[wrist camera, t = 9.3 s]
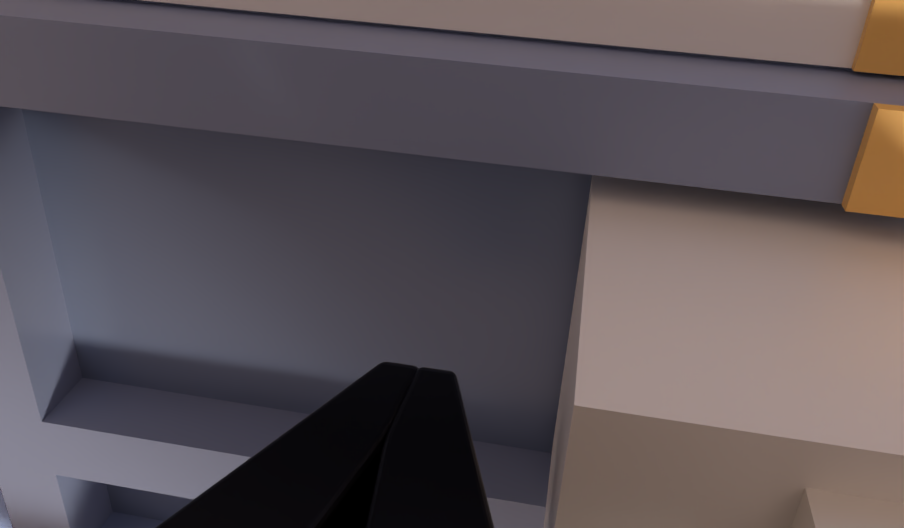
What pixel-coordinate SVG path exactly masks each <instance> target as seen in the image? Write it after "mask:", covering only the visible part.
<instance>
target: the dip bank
mask: <svg viewBox="0 0 904 528" xmlns="http://www.w3.org/2000/svg"><path fill="white" fill-rule="evenodd" d="M592 175H596V176H605V177H614V178H622V179H631V180H639V181H648V182H657V183H665V184H674V185H682V186H691V187H700V188H708V189H717V190H725V191H734V192H743V193H751V194H760V195H768V196H777V197H786V198H794V199H803V200H812V201H820V202H829V203H837V204H842V206H843V208H844V210H845V211H847V212H855V213H864V214H873V215H881V216H890V217H898V218H904V0H0V489H1V492H2V495H3V498H4V501H5V504H6V508H7V511H8V514H9V517H10V520H11V523H12V526H13V528H155V527H157V526H158V525H159V524H161V523H162V522H163V521H165V520H166V519H167V518H169V517H170V516H172V515H173V514H174V513H176V512H177V511H178V510H180V509H181V508H183V507H184V506H185V505H187V504H188V503H189V502H191V501H192V500H193V499H195V498H196V497H198V496H199V495H200V494H202V493H203V492H204V491H206V490H207V489H208V488H210V487H211V486H213V485H214V484H215V483H217V482H218V481H219V480H221V479H222V478H224V477H225V476H226V475H228V474H229V473H230V472H232V471H233V470H234V469H236V468H237V467H239V466H240V465H241V464H243V463H244V462H245V461H247V460H248V459H249V458H251V457H252V456H254V455H255V454H256V453H258V452H259V451H260V450H262V449H263V448H265V447H266V446H267V445H269V444H270V443H271V442H273V441H274V440H275V439H277V438H278V437H280V436H281V435H282V434H284V433H285V432H286V431H288V430H289V429H290V428H292V427H293V426H295V425H296V424H297V423H299V422H300V421H301V420H303V419H304V418H306V417H307V416H308V415H310V414H311V413H312V412H314V411H315V410H316V409H318V408H319V407H321V406H322V405H323V404H325V403H326V402H327V401H329V400H330V399H332V398H333V397H334V396H336V395H337V394H338V393H340V392H341V391H342V390H344V389H345V388H347V387H348V386H349V385H351V384H352V383H353V382H355V381H356V380H357V379H359V378H360V377H362V376H363V375H364V374H366V373H367V372H368V371H370V370H371V369H373V368H374V367H375V366H377V365H378V364H380V363H382V362H394V363H401V364H407V365H414V366H417V367H418V368H421V367H428V368H434V369H441V370H448V371H452V372H454V373H455V374H456V376H457V379H458V383H459V387H460V391H461V395H462V400H463V404H464V408H465V412H466V416H467V420H468V424H469V428H470V432H471V436H472V440H473V444H474V448H475V452H476V456H477V460H478V464H479V468H480V472H481V476H482V480H483V484H484V488H485V492H486V496H487V500H488V504H489V508H490V512H491V516H492V520H493V525H494V528H544V519H545V510H546V501H547V492H548V482H549V473H550V464H551V455H552V446H553V439H554V432H555V425H556V418H557V411H558V405H559V398H560V391H561V384H562V377H563V371H564V364H565V357H566V350H567V343H568V336H569V330H570V323H571V316H572V309H573V302H574V296H575V289H576V282H577V275H578V268H579V261H580V255H581V248H582V241H583V234H584V227H585V221H586V214H587V207H588V200H589V193H590V186H591V180H592Z"/></svg>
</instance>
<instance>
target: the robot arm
mask: <svg viewBox="0 0 904 528" xmlns="http://www.w3.org/2000/svg"><path fill="white" fill-rule="evenodd" d="M155 528H494V525H493V520H492V516H491V512H490V508H489V504H488V500H487V496H486V492H485V488H484V484H483V480H482V476H481V472H480V468H479V464H478V460H477V456H476V452H475V448H474V444H473V440H472V436H471V432H470V428H469V424H468V420H467V416H466V412H465V408H464V404H463V400H462V395H461V391H460V387H459V383H458V379H457V376H456V374H455V373H454V372H452V371H448V370H441V369H434V368H428V367H421V368H418V367H417V366H414V365H407V364H401V363H394V362H382V363H380V364H378V365H377V366H375V367H374V368H373V369H371V370H370V371H368V372H367V373H366V374H364V375H363V376H362V377H360V378H359V379H357V380H356V381H355V382H353V383H352V384H351V385H349V386H348V387H347V388H345V389H344V390H342V391H341V392H340V393H338V394H337V395H336V396H334V397H333V398H332V399H330V400H329V401H327V402H326V403H325V404H323V405H322V406H321V407H319V408H318V409H316V410H315V411H314V412H312V413H311V414H310V415H308V416H307V417H306V418H304V419H303V420H301V421H300V422H299V423H297V424H296V425H295V426H293V427H292V428H290V429H289V430H288V431H286V432H285V433H284V434H282V435H281V436H280V437H278V438H277V439H275V440H274V441H273V442H271V443H270V444H269V445H267V446H266V447H265V448H263V449H262V450H260V451H259V452H258V453H256V454H255V455H254V456H252V457H251V458H249V459H248V460H247V461H245V462H244V463H243V464H241V465H240V466H239V467H237V468H236V469H234V470H233V471H232V472H230V473H229V474H228V475H226V476H225V477H224V478H222V479H221V480H219V481H218V482H217V483H215V484H214V485H213V486H211V487H210V488H208V489H207V490H206V491H204V492H203V493H202V494H200V495H199V496H198V497H196V498H195V499H193V500H192V501H191V502H189V503H188V504H187V505H185V506H184V507H183V508H181V509H180V510H178V511H177V512H176V513H174V514H173V515H172V516H170V517H169V518H167V519H166V520H165V521H163V522H162V523H161V524H159V525H158V526H157V527H155Z"/></svg>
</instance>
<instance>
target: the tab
mask: <svg viewBox="0 0 904 528" xmlns="http://www.w3.org/2000/svg"><path fill="white" fill-rule="evenodd" d="M544 528H904V218H898V217H890V216H881V215H873V214H864V213H855V212H847V211H845V210H844V208H843V206H842V204H837V203H829V202H820V201H812V200H803V199H794V198H786V197H777V196H768V195H760V194H751V193H743V192H734V191H725V190H717V189H708V188H700V187H691V186H682V185H674V184H665V183H657V182H648V181H639V180H631V179H622V178H614V177H605V176H596V175H592V180H591V186H590V193H589V200H588V207H587V214H586V221H585V227H584V234H583V241H582V248H581V255H580V261H579V268H578V275H577V282H576V289H575V296H574V302H573V309H572V316H571V323H570V330H569V336H568V343H567V350H566V357H565V364H564V371H563V377H562V384H561V391H560V398H559V405H558V411H557V418H556V425H555V432H554V439H553V446H552V455H551V464H550V473H549V482H548V492H547V501H546V510H545V519H544Z"/></svg>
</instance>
